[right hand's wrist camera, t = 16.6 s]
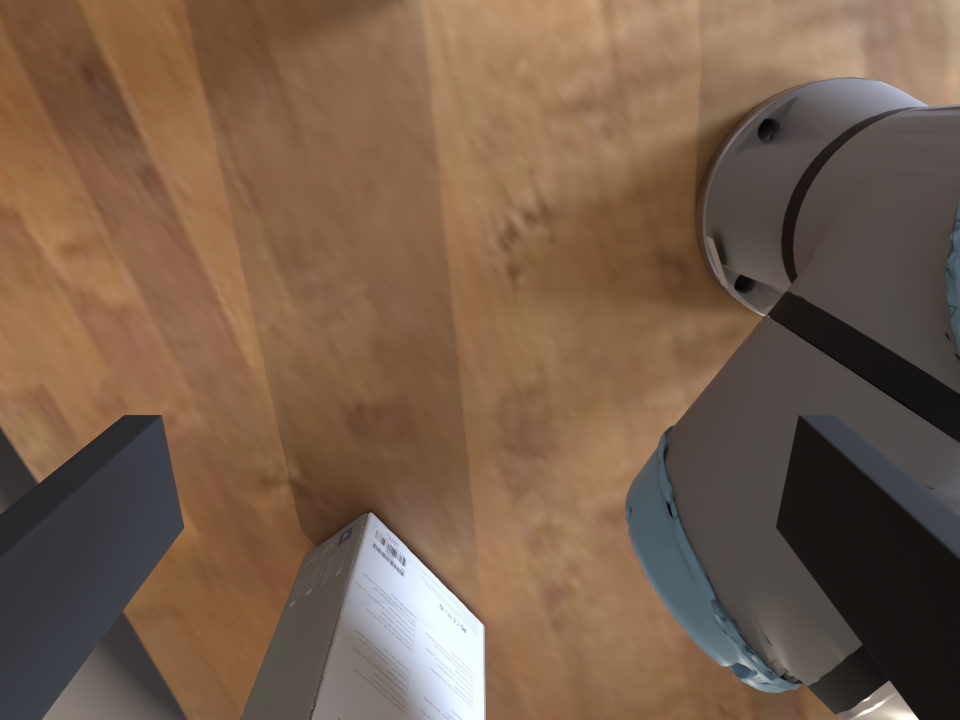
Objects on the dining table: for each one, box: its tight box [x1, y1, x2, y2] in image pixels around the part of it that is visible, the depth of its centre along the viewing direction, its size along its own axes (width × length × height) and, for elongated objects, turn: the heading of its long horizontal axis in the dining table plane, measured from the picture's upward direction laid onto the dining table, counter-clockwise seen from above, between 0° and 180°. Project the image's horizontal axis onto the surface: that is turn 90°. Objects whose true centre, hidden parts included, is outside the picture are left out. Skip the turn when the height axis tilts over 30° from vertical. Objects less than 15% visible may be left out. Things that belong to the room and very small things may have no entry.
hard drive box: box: [240, 512, 486, 720], centre depth 43 cm, size 16×8×20 cm, turn 38°
